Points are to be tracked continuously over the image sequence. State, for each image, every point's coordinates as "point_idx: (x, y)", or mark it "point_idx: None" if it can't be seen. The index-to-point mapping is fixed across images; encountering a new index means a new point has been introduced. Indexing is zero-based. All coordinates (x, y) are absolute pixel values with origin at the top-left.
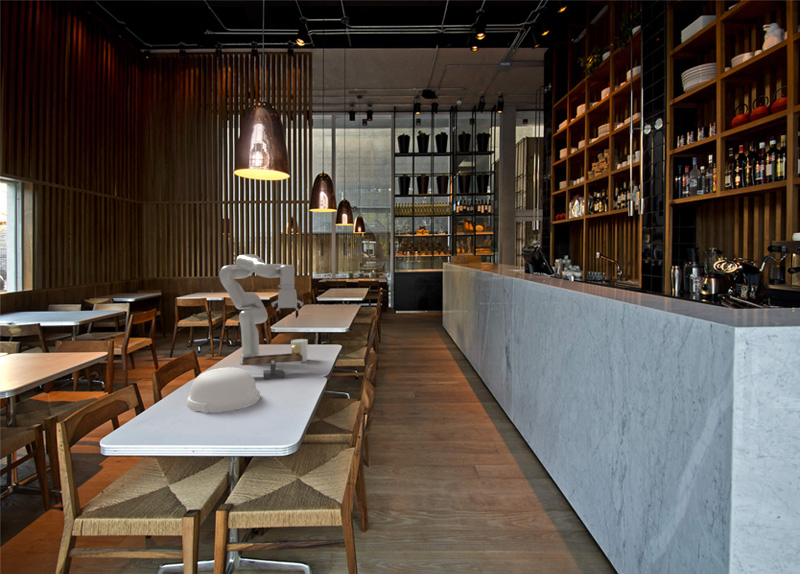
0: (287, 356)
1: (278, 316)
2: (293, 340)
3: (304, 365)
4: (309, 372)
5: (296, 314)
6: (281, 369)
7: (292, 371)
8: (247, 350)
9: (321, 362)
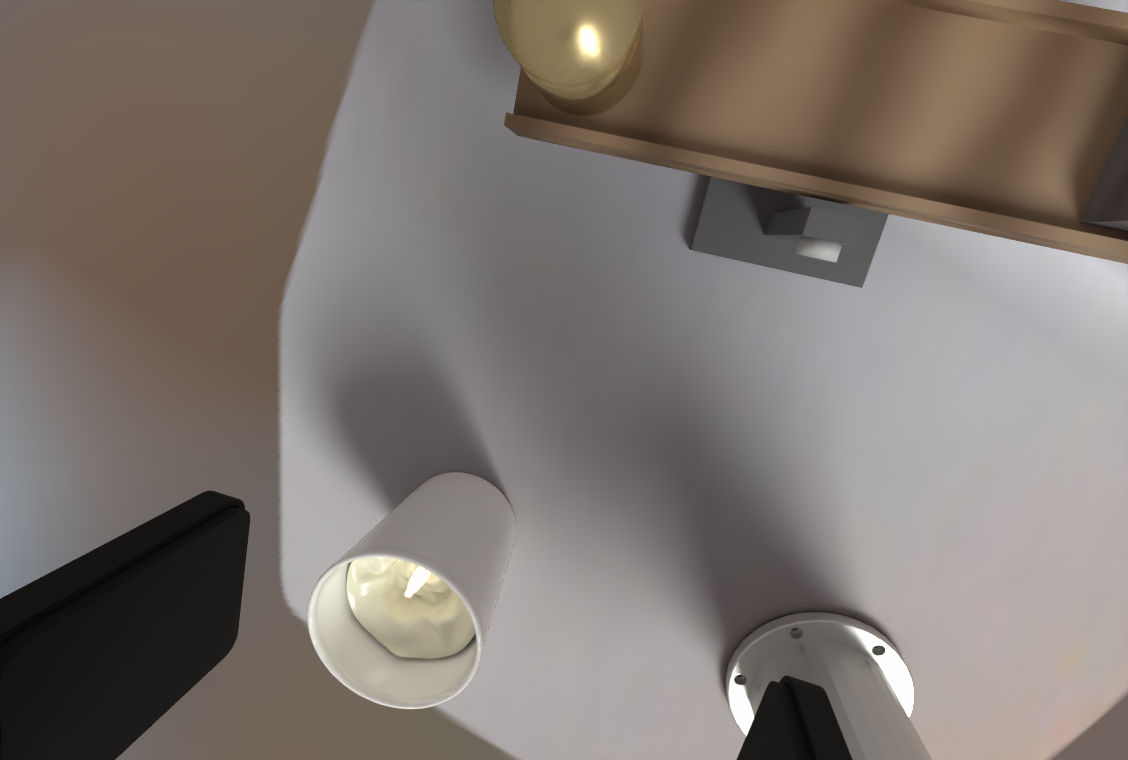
0: (678, 123)
1: (824, 730)
2: (440, 695)
3: (472, 341)
4: (501, 53)
5: (128, 549)
6: (709, 223)
7: (620, 180)
8: (911, 741)
9: (327, 364)
